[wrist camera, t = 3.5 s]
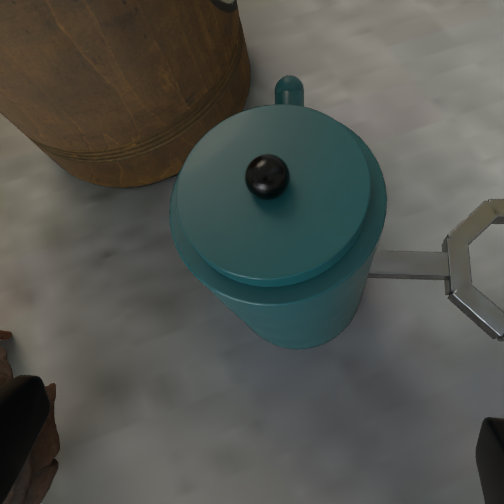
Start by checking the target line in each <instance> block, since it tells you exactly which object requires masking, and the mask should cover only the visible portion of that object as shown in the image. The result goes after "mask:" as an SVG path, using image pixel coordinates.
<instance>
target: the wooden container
mask: <svg viewBox="0 0 504 504" xmlns="http://www.w3.org/2000/svg"><path fill="white" fill-rule="evenodd" d="M249 85H250V64H249V58H248V53H247V48H246V43H245V39H244V34H243V29H242V25H241V21H240V17H239V11H238V5H237V0H0V113H1V114H2V115H3V116H4V117H6V118H7V119H8V120H9V121H10V122H11V123H12V124H13V125H15V126H16V127H17V128H18V129H19V130H20V131H21V132H22V133H24V134H25V135H26V136H27V137H28V138H29V139H30V140H32V141H33V142H34V143H35V144H36V145H37V146H38V147H39V148H40V149H41V150H42V151H44V152H45V153H46V154H47V155H48V156H49V157H50V158H52V159H53V160H54V161H55V162H56V163H57V164H59V165H60V166H61V167H62V168H64V169H65V170H66V171H67V172H69V173H70V174H72V175H74V176H75V177H77V178H79V179H82V180H84V181H87V182H90V183H93V184H97V185H102V186H109V187H135V186H142V185H147V184H151V183H155V182H158V181H161V180H164V179H167V178H169V177H171V176H174V175H176V174H178V173H179V172H180V170H181V168H182V166H183V164H184V162H185V160H186V159H187V157H188V155H189V153H190V152H191V150H192V149H193V147H194V146H195V145H196V144H197V142H198V141H199V140H200V139H201V138H202V137H203V136H204V135H205V134H206V133H207V132H208V131H209V130H210V129H212V128H213V127H214V126H216V125H217V124H219V123H220V122H222V121H223V120H225V119H227V118H229V117H230V116H232V115H235V114H237V113H239V112H242V109H243V107H244V105H245V102H246V99H247V95H248V91H249Z"/></svg>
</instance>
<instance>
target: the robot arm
mask: <svg viewBox="0 0 504 504" xmlns="http://www.w3.org/2000/svg"><path fill="white" fill-rule="evenodd" d="M50 410H51V403H50V400H49V397H48V394H47V392H46V389H45V386H44V383H43V381H42V379H41V378H40V377H38V376H31V375H20V376H18V377H16V378H14V379H12V380H10V381H8V382H6V383H4V384H2V385H1V386H0V504H3V502H4V501H5V499H6V498H7V496H8V494H9V492H10V491H11V489H12V487H13V486H14V484H15V482H16V480H17V478H18V476H19V474H20V472H21V471H22V469H23V466H24V464H25V462H26V460H27V458H28V456H29V454H30V452H31V450H32V448H33V446H34V444H35V442H36V440H37V438H38V436H39V434H40V432H41V430H42V428H43V426H44V424H45V422H46V420H47V418H48V416H49V413H50ZM476 462H477V467H478V472H479V476H480V481H481V486H482V490H483V495H484V500H485V504H504V419H503V418H492V417H487V418H485V419H484V420H483V422H482V426H481V430H480V434H479V438H478V442H477V446H476Z"/></svg>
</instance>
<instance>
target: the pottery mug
mask: <svg viewBox="0 0 504 504" xmlns="http://www.w3.org/2000/svg"><path fill="white" fill-rule="evenodd" d="M11 336H12V333H11V332H9V331H2V330H0V340H5V339H9V338H11ZM12 379H13V374H12V369H11V367H10V365H9V363H8V361H7V352H6V350H5V349H4V348H1V347H0V386H1V385H2V384H4V383H6V382H8V381H10V380H12ZM45 389H46V392H47V394H48V397H49V400H50V403H51V410H50V413H49V416H48V418H47V420H46V422H45V424H44V426H43V428H42V430H41V432H40V434H39V436H38V438H37V440H36V442H35V444H34V446H33V448H32V450H31V452H30V454H29V456H28V458H27V460H26V462H25V464H24V466H23V469H22V471H21V472H20V474H19V476H18V478H17V480H16V482H15V484H14V486H13V487H12V489H11V491H10V492H9V494H8V496H7V498H6V499H5V501H4V502H3V504H40V503H41V501H42V500H43V498H44V497H45V495H46V493H47V491H48V490H49V488H50V486H51V483H52V481H53V479H54V476H55V474H56V472H57V469H58V461H57V460H56V459H54V457H55V456H56V455H57V454H58V452H59V450H60V442H59V435H58V432H57V429H56V424H55V417H54V401H55V398H56V384H55V383H52V384H50V385H49V386H46V387H45Z"/></svg>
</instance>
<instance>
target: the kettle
mask: <svg viewBox="0 0 504 504" xmlns="http://www.w3.org/2000/svg"><path fill="white" fill-rule="evenodd" d="M386 209H387V194H386V185H385V181H384V177H383V173H382V171H381V169H380V166H379V164H378V162H377V160H376V158H375V157H374V155H373V153H372V152H371V150H370V149H369V148H368V146H367V145H366V144H365V143H364V142H363V140H362V139H361V138H360V137H359V136H357V135H356V134H355V133H354V132H353V131H352V130H350V129H349V128H347V127H346V126H345V125H343V124H342V123H340V122H338V121H336V120H334V119H333V118H331V117H329V116H327V115H325V114H323V113H321V112H319V111H316V110H313V109H311V108H306V107H304V87H303V84H302V82H301V81H300V80H299V79H298V78H297V77H295V76H290V75H289V76H285V77H283V78H281V79H280V80H279V81H278V82H277V84H276V87H275V104H274V105H264V106H259V107H255V108H251V109H248V110H245V111H242V112H239V113H237V114H235V115H232V116H230V117H229V118H227V119H225V120H223V121H222V122H220V123H219V124H217V125H216V126H214V127H213V128H212V129H210V130H209V131H208V132H207V133H206V134H205V135H204V136H203V137H202V138H201V139H200V140H199V141H198V142H197V144H196V145H195V146H194V147H193V149H192V150H191V152H190V153H189V155H188V157H187V159H186V160H185V162H184V164H183V166H182V168H181V170H180V172H179V174H178V176H177V179H176V181H175V184H174V187H173V191H172V195H171V200H170V211H169V214H170V227H171V233H172V237H173V240H174V243H175V246H176V249H177V251H178V253H179V255H180V257H181V259H182V260H183V262H184V263H185V265H186V266H187V267H188V269H189V270H190V271H191V272H192V273H193V274H194V276H195V277H196V278H197V279H198V280H199V281H200V282H201V283H203V284H204V285H205V286H206V287H207V288H208V289H209V290H210V291H211V292H212V293H213V294H214V295H215V296H217V297H218V298H219V299H220V300H221V301H222V302H223V303H224V304H225V305H226V306H227V307H228V308H229V309H231V310H232V311H233V312H234V313H235V314H236V315H237V316H238V317H239V318H240V319H241V320H242V321H243V322H245V323H246V324H247V325H248V326H249V327H250V328H251V329H252V330H253V331H254V332H255V333H256V334H258V335H259V336H260V337H262V338H263V339H265V340H266V341H268V342H270V343H272V344H275V345H277V346H281V347H284V348H291V349H306V348H312V347H316V346H319V345H322V344H324V343H326V342H328V341H330V340H332V339H333V338H335V337H336V336H337V335H339V334H340V333H341V332H342V331H343V330H344V329H345V328H346V327H347V326H348V324H349V323H350V321H351V320H352V318H353V316H354V315H355V313H356V310H357V307H358V305H359V302H360V298H361V295H362V292H363V289H364V286H365V283H366V280H367V278H391V279H421V280H444V283H445V294H446V295H449V296H448V299H449V300H450V301H451V302H452V303H453V304H454V305H455V306H457V307H458V308H459V309H460V310H461V311H462V312H463V313H464V314H465V315H467V316H468V317H469V318H470V319H471V320H472V321H473V322H474V323H476V324H477V325H478V326H479V327H480V328H481V329H482V330H483V331H484V332H486V333H487V334H488V335H489V336H490V337H491V338H492V339H496V338H497V340H498V341H504V312H503V311H502V310H501V309H500V308H498V307H497V306H496V305H495V304H494V303H493V302H491V301H490V300H489V299H488V298H487V297H486V296H484V295H483V294H482V293H481V292H480V291H479V290H477V289H476V288H475V287H474V286H473V285H472V278H471V268H470V257H469V246H468V245H469V244H470V243H471V242H472V241H473V240H475V239H476V238H477V237H478V236H479V235H480V234H481V233H482V232H483V231H484V230H485V229H486V228H488V227H489V226H490V225H491V224H504V199H489V200H488V201H484V202H483V203H482V204H481V205H480V206H478V207H477V208H476V209H475V210H474V211H473V212H472V213H471V214H470V215H469V216H467V217H466V218H465V219H464V220H463V221H462V222H461V223H460V224H459V225H458V226H457V227H455V228H454V229H453V230H452V231H451V232H450V233H449V234H448V235H447V236H446V238H445V239H444V241H443V243H442V252H414V251H376V248H377V245H378V242H379V239H380V236H381V233H382V230H383V226H384V222H385V217H386Z"/></svg>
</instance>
